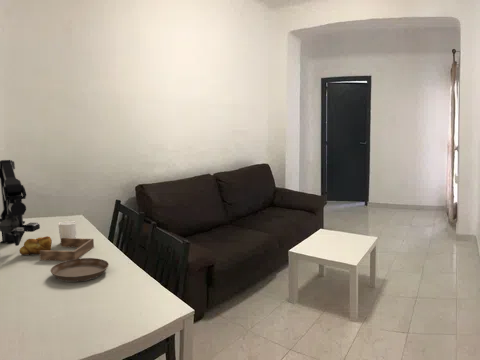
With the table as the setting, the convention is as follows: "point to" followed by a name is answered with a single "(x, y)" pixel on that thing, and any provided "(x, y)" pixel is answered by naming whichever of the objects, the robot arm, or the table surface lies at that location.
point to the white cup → (67, 229)
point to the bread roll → (36, 246)
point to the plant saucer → (79, 269)
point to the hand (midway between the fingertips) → (17, 245)
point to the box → (68, 255)
